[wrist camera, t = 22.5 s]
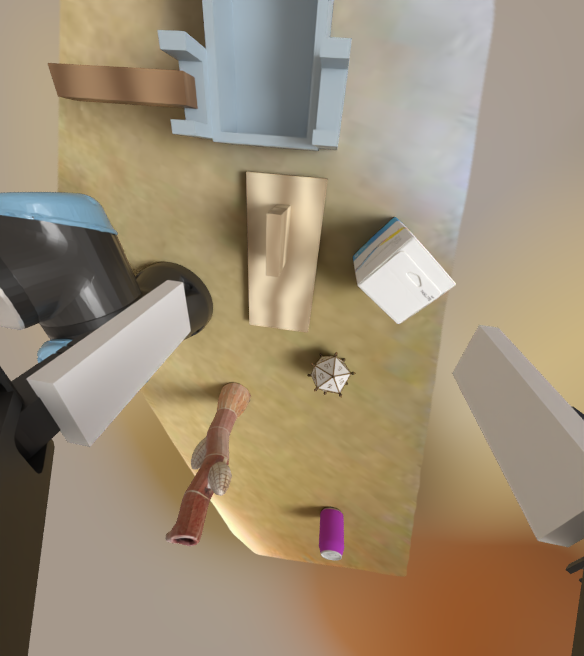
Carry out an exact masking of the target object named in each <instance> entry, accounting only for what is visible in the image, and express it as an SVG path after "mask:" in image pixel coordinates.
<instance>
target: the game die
mask: <svg viewBox="0 0 584 656" xmlns="http://www.w3.org/2000/svg"><path fill="white" fill-rule="evenodd" d="M334 355H335V356H322V354H321V353H320V356H321V358H320V359H319V360H318V361H317V363H316V364H314V363H311V364H312V365H313V366H314V368H313V370H312V373H311V374H308V375H307V376H311V377H312V379H313V381H314V383H315V385H316V388H315V389H314V391H317V389H319V390H322V391H324V395H325V394H326V392H331V393H338V394H339V397H341V398H342V394H341V391H342V389H343V387H344V386H345V384H346V385H348V382H347V380H348V379H349V377H350V375H351V374H352V375H354V374H355V372H350V371H349V369H348V368H347V366H346V365H345V363H344V361H345V359H343V360H341V359H339V358H338V357H337V352H336V353H335V354H334Z"/></svg>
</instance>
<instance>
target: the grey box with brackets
mask: <svg viewBox="0 0 584 656" xmlns="http://www.w3.org/2000/svg"><path fill="white" fill-rule="evenodd" d="M333 4H334V0H202V5H203V18H204V30H205V43H206V49H205V48H204V47H203V46H202V45H201V44H199V43H198V42H197V41H196V40H195V39H193V38H192V37H191V36H190V35H189V34H187V33H186V32H185V31H171V30H158V37H159V44H160V49H161V50H162V51H164V52H166V53H167V54H169V55H171V56H172V57H174V58H175V59H177V60H179V68H180V70H181V71H184V72H186V73H188V74H190V75H191V76H193V77H195V86H196V96H197V106H198V109H191V108H184V110H185V118H186V120H175V119H171V126H172V133H173V134H177V135H183V136H190V137H197V138H203V139H210V140H213V142H220V143H227V144H235V145H248V146H261V147H273V148H286V149H299V150H311V151H319V148H320V149H333V150H337V148H338V141H339V133H340V126H341V118H342V111H343V104H344V96H345V89H346V81H347V74H348V65H349V57H350V49H351V40H352V38H334V37H330V33H331V24H332V14H333Z"/></svg>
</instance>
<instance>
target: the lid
mask: <svg viewBox="0 0 584 656" xmlns="http://www.w3.org/2000/svg"><path fill="white" fill-rule="evenodd" d="M327 180H328V179H327V178H316V177H304V176H293V175H282V174H271V173H260V172H249V171H248V172H246V187H247V234H248V280H249V324H250V325H258V326H265V327H272V328H279V329H287V330H294V331H301V332H308V330H309V323H310V315H311V307H312V299H313V291H314V283H315V275H316V267H317V259H318V251H319V243H320V235H321V227H322V220H323V212H324V204H325V196H326V188H327Z"/></svg>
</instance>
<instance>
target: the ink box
mask: <svg viewBox="0 0 584 656" xmlns="http://www.w3.org/2000/svg"><path fill="white" fill-rule="evenodd" d="M353 262H354V268H355V273H356V279H357V285H358V287H359V288H360V289H362V290H363V291H364V292H365V293H366V294H367V295H368V296H369V297H370V298H371V299H372V300H373V301H374V302H375V303H376V304H377V305H378V306H379V307H380V308H381V309H382V310H383V311H384V312H385V313H386V314H387V315H388V316H390V317H391V318H392V319H393V320H394V321H395V322H396V323H397V324H400V323H402V322H403V321H405V320H406V319H408V318H409V317H411V316H412V315H414V314H415V313H417V312H418V311H420V310H421V309H423V308H424V307H426V306H427V305H429V304H430V303H431V302H433V301H434V300H436V299H437V298H438V297H440V296H441V295H443V294H444V293H445V292H447V291H448V290H449V289H451V288H452V287H454V286H455V285H456V283H455V282H454V281H453V280H452V279H451V277H450V276H449V275H448V274H447V273H446V271H445V270H444V269H443V268H442V267H441V266H440V264H439V263H438V262H437V261H436V260H435V259H434V257H433V256H432V255H431V254H430V253H429V252H428V250H427V249H426V248H425V247H424V246H423V245H422V244H421V242H420V241H419V240H418V239H417V238H416V237H415V236H414V235H413V234H412V233H411V232H410V230H409V229H408V228H407V227H406V226H405V225H404V224H403V223H402V222H401V221H399V220H398V219H397V218H396V217H394V218H393V219H391V220H390V221H389V222H388V223H387V224H386V225H385V226H384V227H383V228H382V229H381V230H379V231H378V232H377V233H376V234H375V235H374V236H373V237H372V238H371V239H370V240H369V241H368V242H367V243H366V244H365V245H363V246H362V247H361V248H360V249H359V250H358V251H357V253H356V254H355V255H354V256H353Z"/></svg>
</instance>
